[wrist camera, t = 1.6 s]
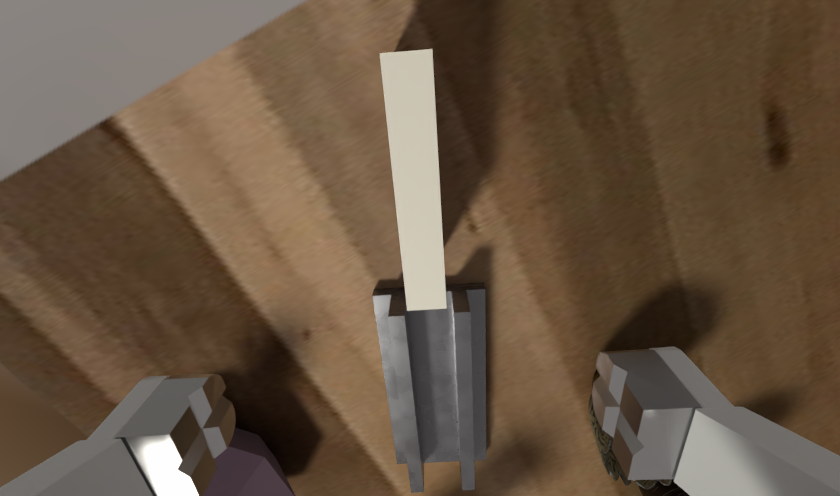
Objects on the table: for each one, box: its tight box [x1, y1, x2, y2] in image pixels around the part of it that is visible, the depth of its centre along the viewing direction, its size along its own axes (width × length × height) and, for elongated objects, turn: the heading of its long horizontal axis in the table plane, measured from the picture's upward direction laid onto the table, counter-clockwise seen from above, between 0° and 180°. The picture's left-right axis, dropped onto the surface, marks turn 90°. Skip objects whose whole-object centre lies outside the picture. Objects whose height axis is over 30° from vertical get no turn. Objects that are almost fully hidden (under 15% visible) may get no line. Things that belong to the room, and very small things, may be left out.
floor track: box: [373, 283, 486, 492], centre depth 34 cm, size 20×9×4 cm, turn 4°
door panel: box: [380, 49, 447, 311], centre depth 24 cm, size 14×2×8 cm, turn 4°
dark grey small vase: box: [588, 372, 672, 489], centre depth 32 cm, size 8×7×8 cm
